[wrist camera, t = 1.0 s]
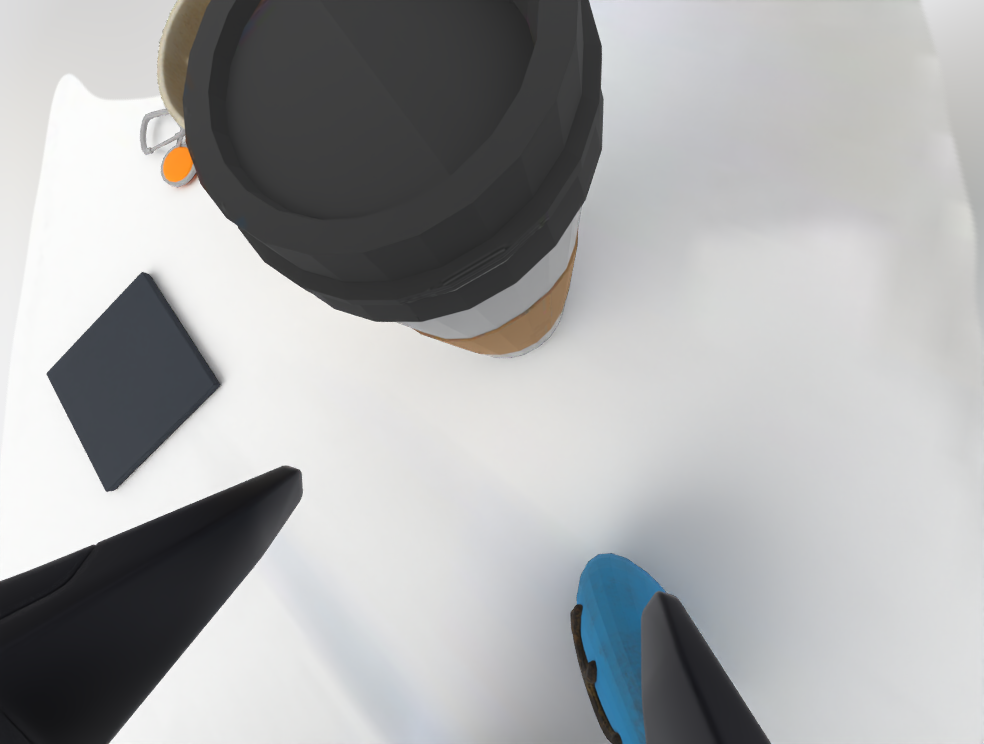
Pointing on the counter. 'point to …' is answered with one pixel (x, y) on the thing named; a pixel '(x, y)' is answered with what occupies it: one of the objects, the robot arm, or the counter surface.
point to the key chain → (170, 154)
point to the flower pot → (178, 53)
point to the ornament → (613, 642)
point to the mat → (131, 381)
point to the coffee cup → (405, 153)
